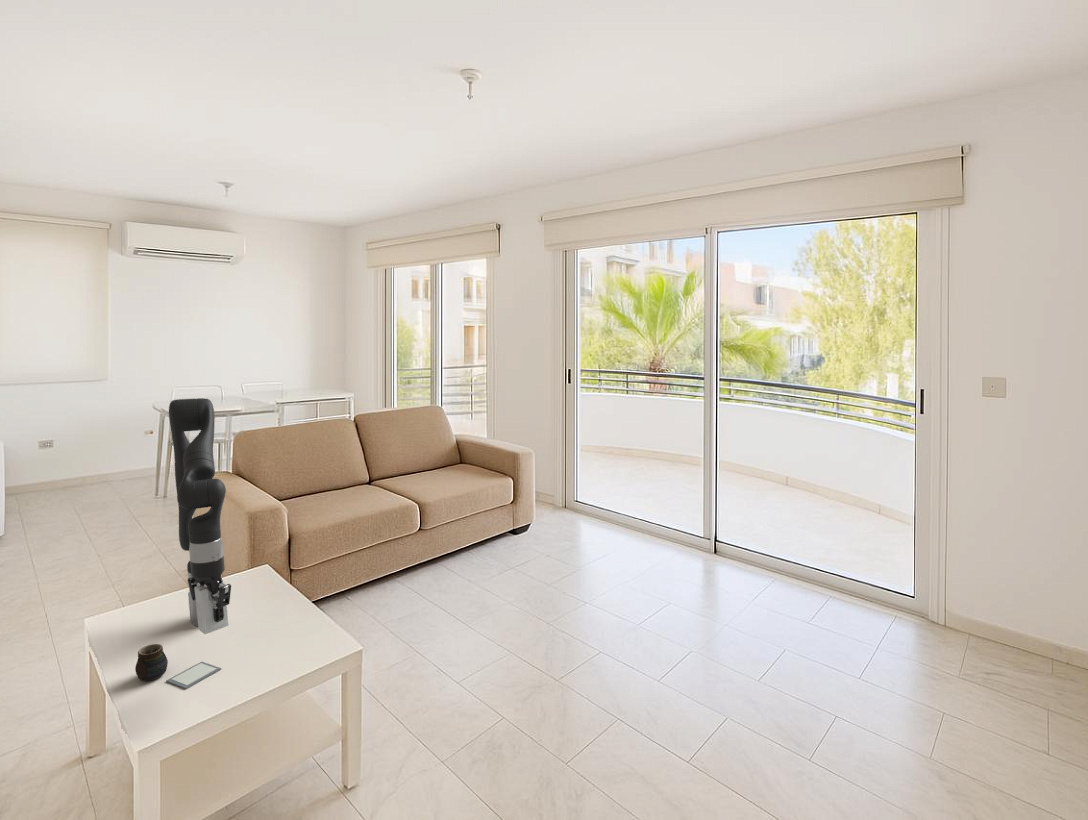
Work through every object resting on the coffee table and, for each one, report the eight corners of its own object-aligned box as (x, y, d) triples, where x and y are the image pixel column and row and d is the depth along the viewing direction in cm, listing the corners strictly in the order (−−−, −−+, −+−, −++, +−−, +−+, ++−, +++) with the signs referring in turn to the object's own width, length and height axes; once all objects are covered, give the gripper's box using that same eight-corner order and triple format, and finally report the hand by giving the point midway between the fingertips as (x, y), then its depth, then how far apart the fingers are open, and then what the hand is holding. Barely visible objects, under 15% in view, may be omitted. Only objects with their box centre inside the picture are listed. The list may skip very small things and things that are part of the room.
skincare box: (222, 621, 159) (218, 578, 158) (229, 626, 156) (226, 582, 155) (197, 630, 154) (193, 586, 153) (204, 636, 152) (200, 590, 150)
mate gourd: (163, 665, 165) (160, 632, 164) (173, 676, 160) (170, 641, 159) (132, 677, 160) (129, 642, 158) (142, 688, 155) (139, 652, 153)
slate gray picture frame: (166, 681, 157) (166, 679, 157) (201, 662, 166) (201, 661, 166) (186, 689, 154) (185, 687, 154) (221, 669, 163) (221, 667, 163)
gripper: (174, 556, 152) (180, 619, 155) (212, 566, 146) (217, 631, 149) (202, 546, 159) (207, 606, 161) (239, 555, 153) (243, 617, 155)
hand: (211, 618), depth 155 cm, fingers closed on skincare box, 5 cm apart
